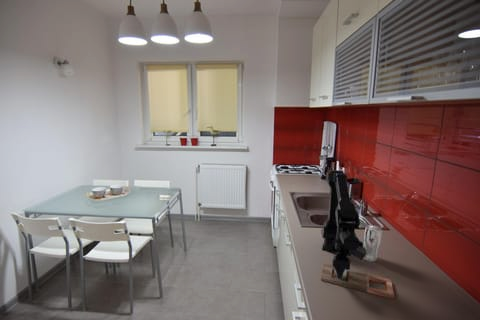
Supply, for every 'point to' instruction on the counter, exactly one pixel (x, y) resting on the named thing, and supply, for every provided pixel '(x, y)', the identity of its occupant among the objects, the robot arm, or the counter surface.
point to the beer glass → (372, 242)
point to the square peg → (342, 275)
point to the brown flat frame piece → (358, 281)
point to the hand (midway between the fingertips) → (340, 271)
